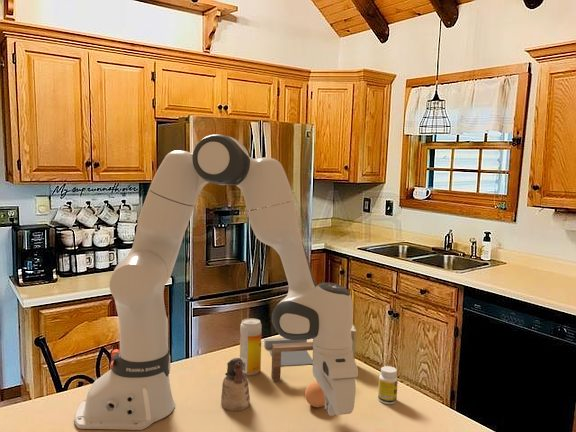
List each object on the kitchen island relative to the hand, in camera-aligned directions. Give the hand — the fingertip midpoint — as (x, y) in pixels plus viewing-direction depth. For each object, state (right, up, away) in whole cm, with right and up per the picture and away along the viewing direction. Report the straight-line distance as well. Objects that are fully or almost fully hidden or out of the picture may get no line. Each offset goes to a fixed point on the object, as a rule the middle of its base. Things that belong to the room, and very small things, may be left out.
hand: (330, 412), depth 108 cm
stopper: (-11, +2, +48) cm, 49 cm away
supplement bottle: (+16, -3, +14) cm, 21 cm away
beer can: (-21, 0, +28) cm, 35 cm away
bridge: (-6, -1, +26) cm, 26 cm away
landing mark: (-9, +1, +39) cm, 40 cm away
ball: (-2, 0, +10) cm, 10 cm away
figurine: (-23, -2, +10) cm, 25 cm away
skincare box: (+8, 0, +34) cm, 34 cm away
